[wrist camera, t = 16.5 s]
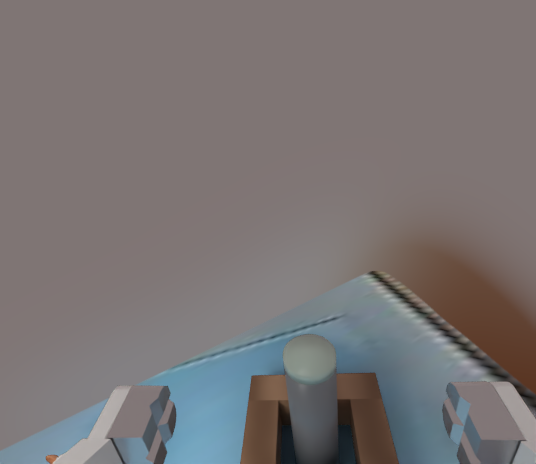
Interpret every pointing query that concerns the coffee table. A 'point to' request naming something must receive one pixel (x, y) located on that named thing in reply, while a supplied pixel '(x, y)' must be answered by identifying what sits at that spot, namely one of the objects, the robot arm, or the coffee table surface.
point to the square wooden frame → (349, 413)
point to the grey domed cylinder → (312, 398)
